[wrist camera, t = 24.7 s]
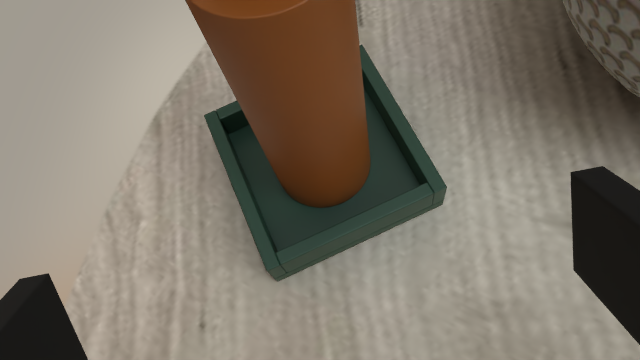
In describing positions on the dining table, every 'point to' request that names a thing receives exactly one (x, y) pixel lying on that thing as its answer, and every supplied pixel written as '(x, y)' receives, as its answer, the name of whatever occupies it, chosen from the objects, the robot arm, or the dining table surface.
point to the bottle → (296, 88)
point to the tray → (337, 221)
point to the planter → (611, 36)
